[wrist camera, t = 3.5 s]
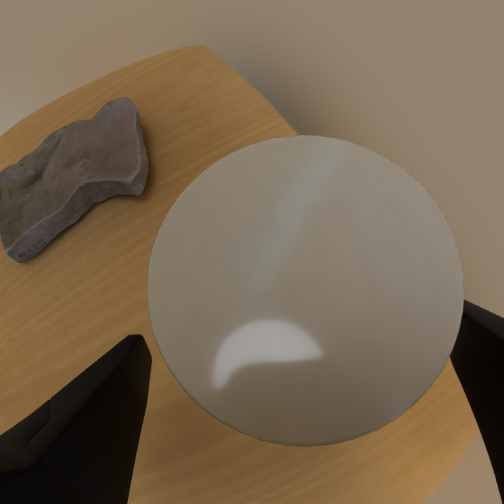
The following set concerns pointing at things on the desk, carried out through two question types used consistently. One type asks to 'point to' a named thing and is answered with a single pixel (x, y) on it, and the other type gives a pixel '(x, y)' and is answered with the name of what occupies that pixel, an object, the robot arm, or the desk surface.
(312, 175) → the white upright cylinder
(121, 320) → the desk surface
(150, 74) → the desk surface
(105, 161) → the stone
